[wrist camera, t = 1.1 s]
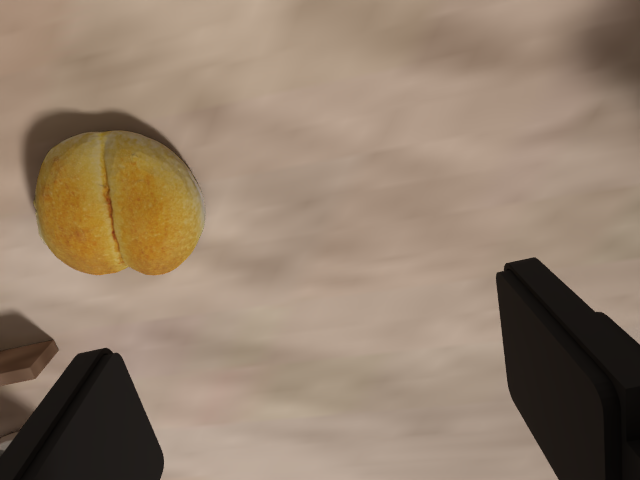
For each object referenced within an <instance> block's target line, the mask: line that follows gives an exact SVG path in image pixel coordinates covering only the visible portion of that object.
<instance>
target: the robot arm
mask: <svg viewBox="0 0 640 480" xmlns="http://www.w3.org/2000/svg"><path fill="white" fill-rule="evenodd" d="M496 283H497V292H498V301H499V310H500V319H501V328H502V337H503V346H504V355H505V364H506V373H507V382H508V387H509V391H510V394H511V397H512V400H513V402H514V403H515V405H516V407H517V409H518V410H519V412H520V414H521V415H522V417H523V419H524V421H525V422H526V424H527V426H528V427H529V429H530V431H531V433H532V434H533V436H534V438H535V440H536V441H537V443H538V445H539V446H540V448H541V450H542V452H543V453H544V455H545V457H546V458H547V460H548V462H549V464H550V465H551V467H552V469H553V470H554V472H555V474H556V476H557V477H558V479H559V480H640V345H639V344H638V343H637V342H636V341H635V340H634V339H633V338H632V337H631V336H629V335H628V334H627V333H626V332H625V331H624V330H623V329H622V328H621V327H619V326H618V325H617V324H616V323H615V322H614V321H613V320H612V319H610V318H609V317H608V316H607V315H605V314H604V313H602V312H595V311H594V310H593V309H591V308H590V307H589V306H588V305H587V304H586V303H585V302H584V301H583V300H582V299H581V298H580V297H578V296H577V295H576V294H575V293H574V292H573V291H572V290H571V289H570V288H569V287H568V286H566V285H565V284H564V283H563V282H562V281H561V280H560V279H559V278H558V277H557V276H556V275H555V274H553V273H552V272H551V271H550V270H549V269H548V268H547V267H546V266H545V265H544V264H543V263H541V262H540V261H539V260H538V259H537V258H535V257H534V258H529V259H524V260H520V261H515V262H510V263H506V264H505V266H504V271H502V272H497V274H496ZM163 468H164V457H163V453H162V450H161V447H160V445H159V443H158V440H157V438H156V436H155V433H154V431H153V429H152V426H151V424H150V422H149V419H148V417H147V415H146V412H145V410H144V408H143V405H142V403H141V401H140V398H139V396H138V394H137V391H136V389H135V387H134V384H133V382H132V380H131V377H130V375H129V373H128V370H127V368H126V366H125V363H124V361H123V359H122V357H121V355H120V354H118V353H113V352H112V351H111V350H110V349H108V348H103V349H98V350H93V351H89V352H84V353H79V354H77V355H76V356H75V357H74V359H73V360H72V361H71V363H70V364H69V365H68V367H67V368H66V369H65V371H64V372H63V374H62V375H61V376H60V378H59V379H58V380H57V382H56V383H55V384H54V386H53V387H52V388H51V390H50V391H49V392H48V394H47V395H46V396H45V398H44V399H43V400H42V402H41V403H40V404H39V406H38V407H37V408H36V410H35V411H34V412H33V414H32V415H31V416H30V418H29V419H28V420H27V422H26V423H25V424H24V426H23V427H22V428H21V430H20V431H18V432H15V433H12V434H9V435H6V436H4V437H2V438H0V480H160V478H161V475H162V472H163Z"/></svg>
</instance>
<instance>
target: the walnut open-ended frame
mask: <svg viewBox="0 0 640 480" xmlns="http://www.w3.org/2000/svg"><path fill="white" fill-rule="evenodd" d="M58 351H59V350H58V348H57V346H56V344H55V342H54V340H51V341H46V342H41V343H36V344H32V345H27V346H22V347H18V348H13V349H8V350H3V351H0V386H3V385H8V384H13V383H18V382H22V381H27V380H32V379H36V377H37V376H38V375H39V374H40V373H41V371H42V370H43V369H44V368H45V366H46V365H47V364H48V363H49V362H50V360H51V359H52V358H53V357H54V355H55V354H56V353H57V352H58Z"/></svg>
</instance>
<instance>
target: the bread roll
mask: <svg viewBox="0 0 640 480" xmlns="http://www.w3.org/2000/svg"><path fill="white" fill-rule="evenodd" d="M33 204H34V206H35V209H36V213H35V214H36V218H37V224H38V230H39V235H40V237H41V240H42V241H43V242H44V244H46V245H47V246H48V247H49V249H50V250H51V251H52V252H53V254H54V255H55V256H56V257H57V258H58V259H60V260H61V261H62V262H64V263H65V264H67V265H68V266H70V267H72V268H73V269H75V270H78V271H81V272H84V273H88V274H93V275H103V274H110V273H116V272H119V271H121V270H123V269H125V268H127V267H131V268H132V269H134V270H136V271H139V272H141V273H143V274H146V275H160V274H165V273H168V272H170V271H172V270H174V269H175V268H177V267H178V266H179V265H180V264H181V263H182V262H184V261H185V260H186V259H187V257H188V256H189V255H190V254H191V253H192V251H193V250H194V248H195V246H196V244H197V242H198V240H199V238H200V236H201V233H202V231H203V228H204V223H205V202H204V198H203V195H202V192H201V189H200V187H199V185H198V183H197V182H196V180H195V179H194V177H193V175H192V173H191V171H190V170H189V169H188V167H187V166H186V164H185V163H184V162H183V161H182V160H181V159H180V158H179V157H178V156H177V155H176V154H175V153H174V152H173V151H171V150H170V149H169V148H167V147H166V146H165V145H163V144H161V143H160V142H158V141H156V140H153V139H151V138H148V137H145V136H143V135H142V134H138V133H134V132H129V131H122V130H118V131H106V132H87V133H82V134H78V135H76V136H73V137H70V138H68V139H66V140H64V141H62V142H60V143H59V144H58V145H56V146H55V147H53V148H52V149H51V150H50V151H49V152H48V154H47V156H46V157H45V159H44V161H43V163H42V165H41V169H40V172H39V176H38V179H37V186H36V191H35V199H34V202H33Z"/></svg>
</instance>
